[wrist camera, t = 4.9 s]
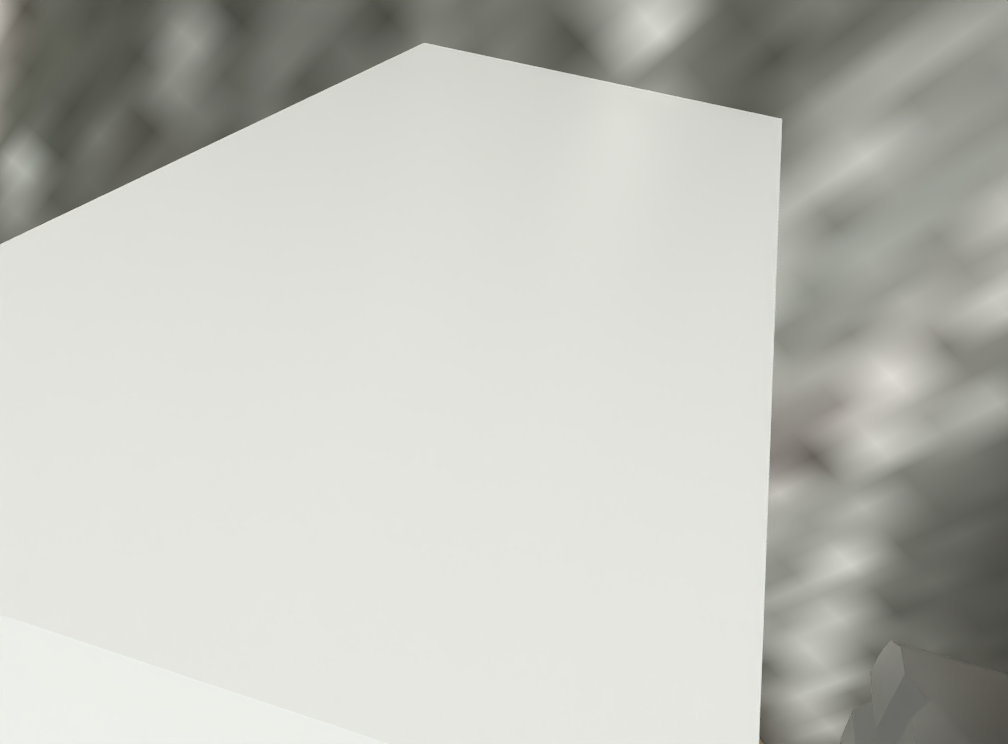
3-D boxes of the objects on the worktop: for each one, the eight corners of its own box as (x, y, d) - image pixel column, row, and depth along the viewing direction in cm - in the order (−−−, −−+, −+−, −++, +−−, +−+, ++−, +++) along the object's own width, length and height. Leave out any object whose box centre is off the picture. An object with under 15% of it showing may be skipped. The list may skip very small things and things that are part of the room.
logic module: (782, 118, 11) (755, 865, 3) (649, 567, 15) (459, 1515, 6) (419, 41, 12) (-471, 458, 4) (374, 486, 16) (-135, 1242, 7)
